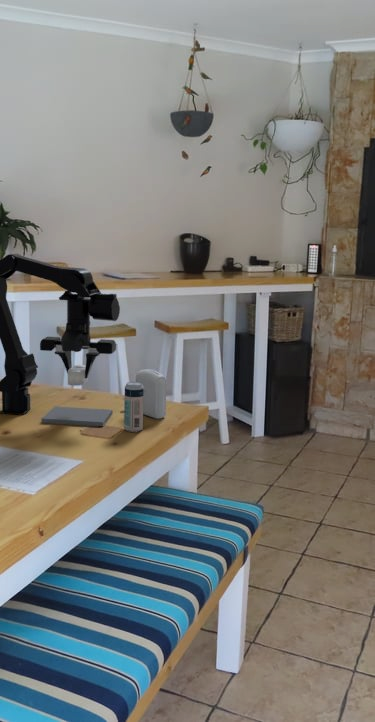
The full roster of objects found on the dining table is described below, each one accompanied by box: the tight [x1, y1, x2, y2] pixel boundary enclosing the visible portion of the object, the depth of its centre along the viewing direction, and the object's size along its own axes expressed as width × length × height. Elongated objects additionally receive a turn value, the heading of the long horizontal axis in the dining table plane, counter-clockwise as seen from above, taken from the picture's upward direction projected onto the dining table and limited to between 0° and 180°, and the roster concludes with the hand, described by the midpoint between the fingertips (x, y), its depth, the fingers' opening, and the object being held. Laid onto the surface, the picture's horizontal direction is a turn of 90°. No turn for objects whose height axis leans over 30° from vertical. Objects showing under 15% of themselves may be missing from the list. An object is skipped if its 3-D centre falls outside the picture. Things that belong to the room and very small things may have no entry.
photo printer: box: [135, 368, 167, 420], centre depth 187 cm, size 10×4×12 cm, turn 39°
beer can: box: [123, 381, 144, 433], centre depth 173 cm, size 5×5×12 cm
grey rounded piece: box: [67, 364, 89, 387], centre depth 181 cm, size 4×11×4 cm, turn 174°
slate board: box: [41, 406, 114, 427], centre depth 182 cm, size 16×12×1 cm
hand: (78, 377), depth 180 cm, fingers closed on grey rounded piece, 4 cm apart
